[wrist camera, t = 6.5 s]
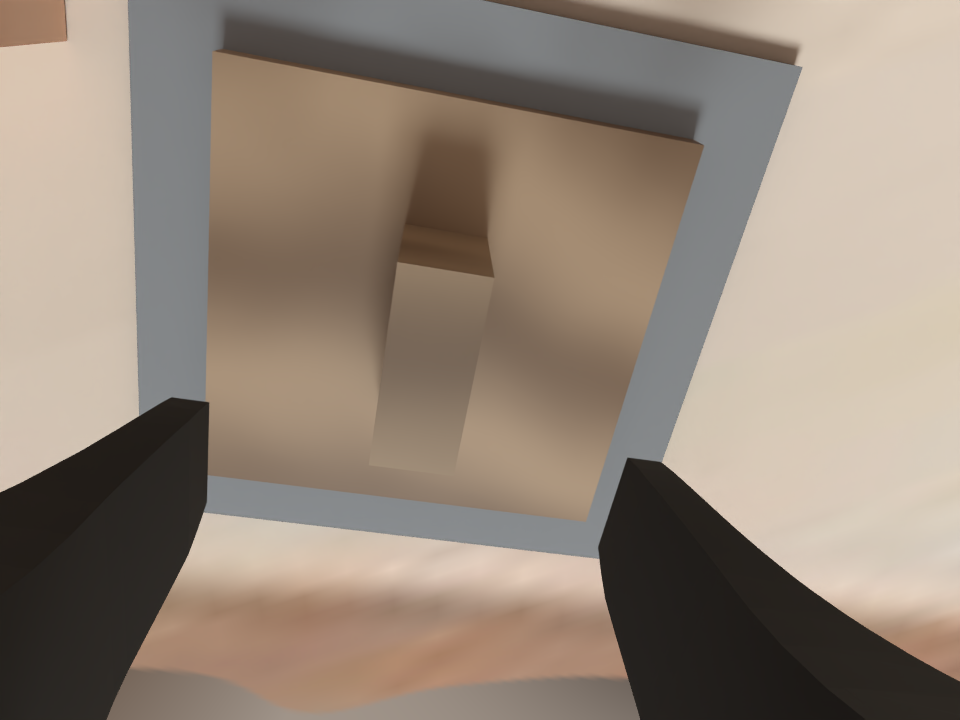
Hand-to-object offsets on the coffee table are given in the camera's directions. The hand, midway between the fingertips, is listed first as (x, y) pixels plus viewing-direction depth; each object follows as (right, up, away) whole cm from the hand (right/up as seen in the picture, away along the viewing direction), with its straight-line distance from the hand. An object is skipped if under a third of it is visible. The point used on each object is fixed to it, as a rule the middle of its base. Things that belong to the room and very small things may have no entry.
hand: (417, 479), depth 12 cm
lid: (0, +3, +6) cm, 7 cm away
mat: (0, +3, +7) cm, 8 cm away
